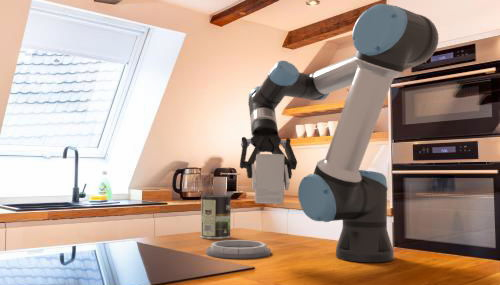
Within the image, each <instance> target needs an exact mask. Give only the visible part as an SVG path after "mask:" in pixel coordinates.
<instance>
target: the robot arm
mask: <svg viewBox="0 0 500 285" xmlns="http://www.w3.org/2000/svg"><path fill="white" fill-rule="evenodd" d="M438 32H439V30H438V29H437V28H436V25H435V24H434V22H433V21H432V20H431V19H429V17H426V16H425V15H422V14H418V13H415V12H412V11H410V10H407V9H405V8H402V7H400V6H398V5H394V4H393V5H392V4H387V3H378V4H374V5H372V6H371V7H369V8H368V9H366V10H364V11H363V12H362V13H361V14H360V15H359V17H358V18H357V20H356V22H355V24H354V26H353V28H352V36H351V39H352V40H353V41H352V42H353V43H352V44H353V46H354V48H355V49H356V52H355V54H353V55H351V56H348V57H346V58H343V59H342V60H339V61H336V62H334V63H332V64H330V65H327V66H325V67H323V68H320V69H318V70H316V71H312V72H311V73H305V72H300V71H299V70H298V68H297V67H296V66H295V65H294V64H293V63H290V62H289V61H287V60H279V61H278V62H276V63H275V64H274V66H273V67H272V68H271V70H269V73H268V74H267V76H266V77H265V79H264V81H263V82H262V83H261V85H259V86H255V88H253V89H251V90H250V92H249V94H248V101H247V102H248V110H249V111H248V112H249V117H250V119H249V120H250V128H251V129H250V130H251V137H250V138H247V137H245V136H243V137H241V144H240V146H241V155H240V161H239V168H240V169H246V176H247V178H248V179H251V187H252V189H251V190H253V191H255V189H256V173H255V169H256V155H257V154H261V153H270V154H282V155H284V189H285V190H284V191H289V188H290V180H291V179H292V176H293V171H294V170H295V171H296V169H297V166H298V165H297V164H298V161H297V157H296V155H295V153H294V150H293V148H292V146H291V139H290V138H286V139H281V137H280V136H279V130H278V123H277V122H278V121H277V116H276V108H277V107H278V106H279V104H280V103H281V102H282V100H283V99H284V98H285V97H291V98H298V99H305V100H310V101H323V100H325V99H327V97H328V96H329V95H330V93H333V92H336V91H339V90H341V89H344V88H347V87H350V88H349V91H348V94H347V97H346V100H345V101H344V102H345V103H344V105H343V107H342V110H341V114H340V117H339V119H338V122H337V125H336V127H335V130H334V132H333V135H332V138H331V141H330V144H329V147H328V150H327V152H326V155H325V158H323V159H321V160H319V161H317V162H316V166H315V169H314V171H313V173H310V174H308V175H307V176H304V177H303V178H302V179H301V181H300V183H299V185H298V191H297V197H298V201H299V205H300V208H301V211H302V212H303V213H304V214H305V215H306V216H307V217H308V218H309V219H310V220H312V221H314V222H323V223H329V222H334V221H342V228H341V232H340V234H339V238H338V242H337V244H336V248H335V257H336V258H338V259H340V260H345V261H349V262H357V263H358V262H360V263H386V262H391V261H393V260H394V259H395V255H394V254H395V250H394V246H393V245H392V242H391V238H390V235H389V232H388V189H389V188H388V185H387V184H388V183H387V182H388V181H387V177H386V175H384V173H380V172H378V171H371V170H364V169H360V168H361V164H362V162H363V160H364V156H365V155H366V151H367V148H368V146H369V143H370V141H371V139H372V135H373V132H374V130H375V129H376V125H377V123H378V120H379V117H380V114H381V111H382V109H383V107H384V105H385V104H384V103H385V102H386V100H387V96H388V94H389V92H390V91H389V90H390V88H391V86H392V83H393V80H394V79H395V78H396V77H398V76H399V75H402V74H403V73H404V71H406V70H408V69H411V68H414V67H416V66H419V65H422V64H424V63H426V61H428V60H429V59H430V58H432V57H433V55H434V53H435V51H437V48H438V44H439V33H438ZM250 144H251V145H252V146H253V151H252V153H251V154H250V157H248V160H247V161H246V158H247V153H248V152H247V151H248V148H249V146H250ZM280 145H281V147H282V149H284V151H285V152H283V150H281V148H280ZM292 170H293V171H292Z"/></svg>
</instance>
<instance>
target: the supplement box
mask: <svg viewBox="0 0 500 285" xmlns="http://www.w3.org/2000/svg"><path fill="white" fill-rule="evenodd" d="M284 155H285V154H284ZM284 155H282V154H272V153H260V154H257V155H256V161H255V173H256V189H255V190H254V203H255V204H262V205H263V204H266V205H267V204H270V205H273V204H274V205H283V204H284V201H285V200H284V197H285V196H284V193H285V190H284V189H285V185H284Z"/></svg>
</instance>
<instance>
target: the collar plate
mask: <svg viewBox="0 0 500 285" xmlns="http://www.w3.org/2000/svg"><path fill="white" fill-rule="evenodd" d="M205 251H206V252H205V254H206V255H207V256H209V257H213V258H220V259H229V260H253V259H262V258H267V257H270V256H271V255H272V249H271V248H269V247H267V243H264V242H263V241H259V240H258V241H256V240H248V239H230V240H229V239H226V240H225V239H223V240H218V241H217V240H216V241H214V242H211V243H210V246H209V247H207V248H206V249H205Z"/></svg>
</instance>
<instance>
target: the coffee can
mask: <svg viewBox="0 0 500 285" xmlns="http://www.w3.org/2000/svg"><path fill="white" fill-rule="evenodd" d="M200 198H201V200H200V201H201V203H200V204H201V205H200V209H201V210H200V212H201V213H200V238H202V239H204V240H205V239H206V240H225V239H226V240H228V239H230V238H231V207H232V206H231V204H232V196H231V195H223V194H219V195H218V194H208V195H207V194H206V195H200Z"/></svg>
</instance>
